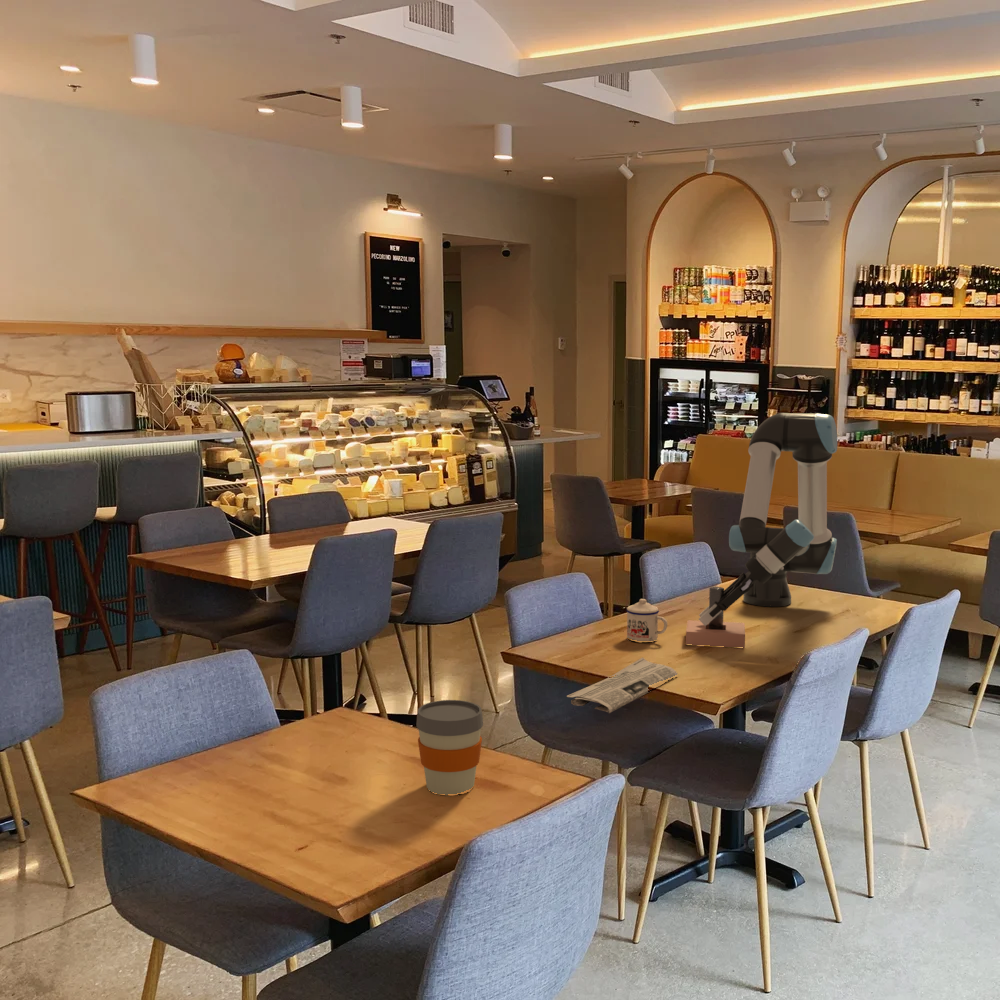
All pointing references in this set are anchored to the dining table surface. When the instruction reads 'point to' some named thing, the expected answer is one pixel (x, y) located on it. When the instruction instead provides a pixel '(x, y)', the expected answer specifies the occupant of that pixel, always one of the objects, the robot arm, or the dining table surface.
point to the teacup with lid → (643, 621)
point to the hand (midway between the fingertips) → (702, 620)
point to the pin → (714, 595)
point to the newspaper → (623, 685)
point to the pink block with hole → (716, 634)
